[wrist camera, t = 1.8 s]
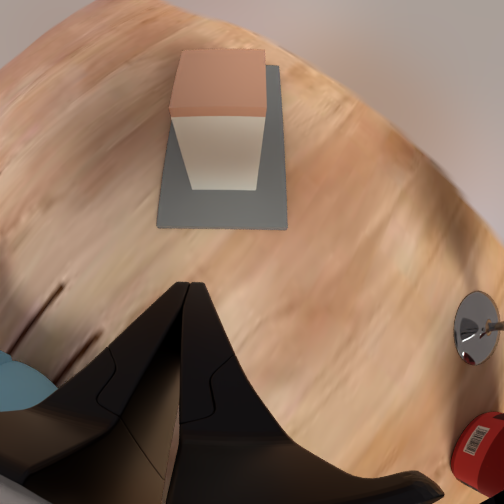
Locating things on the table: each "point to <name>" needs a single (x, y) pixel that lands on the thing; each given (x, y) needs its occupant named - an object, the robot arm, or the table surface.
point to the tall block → (220, 116)
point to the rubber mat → (231, 201)
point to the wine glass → (477, 328)
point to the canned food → (481, 454)
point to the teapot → (21, 385)
